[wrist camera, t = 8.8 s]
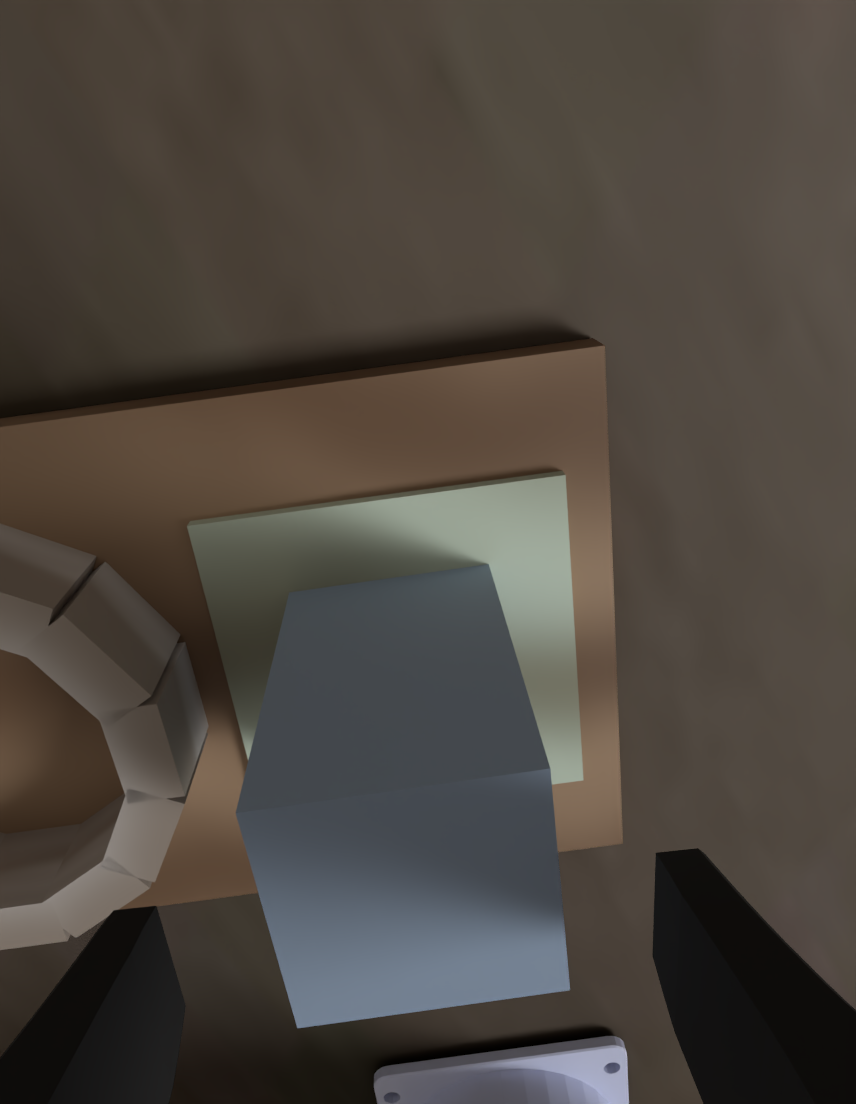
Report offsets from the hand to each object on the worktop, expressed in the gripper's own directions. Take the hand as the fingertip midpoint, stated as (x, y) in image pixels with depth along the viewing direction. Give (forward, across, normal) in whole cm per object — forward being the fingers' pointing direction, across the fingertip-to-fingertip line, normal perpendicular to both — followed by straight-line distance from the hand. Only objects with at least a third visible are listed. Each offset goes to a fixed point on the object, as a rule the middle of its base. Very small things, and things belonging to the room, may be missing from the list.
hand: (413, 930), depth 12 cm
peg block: (+7, 0, 0) cm, 7 cm away
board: (+9, +5, 0) cm, 10 cm away
